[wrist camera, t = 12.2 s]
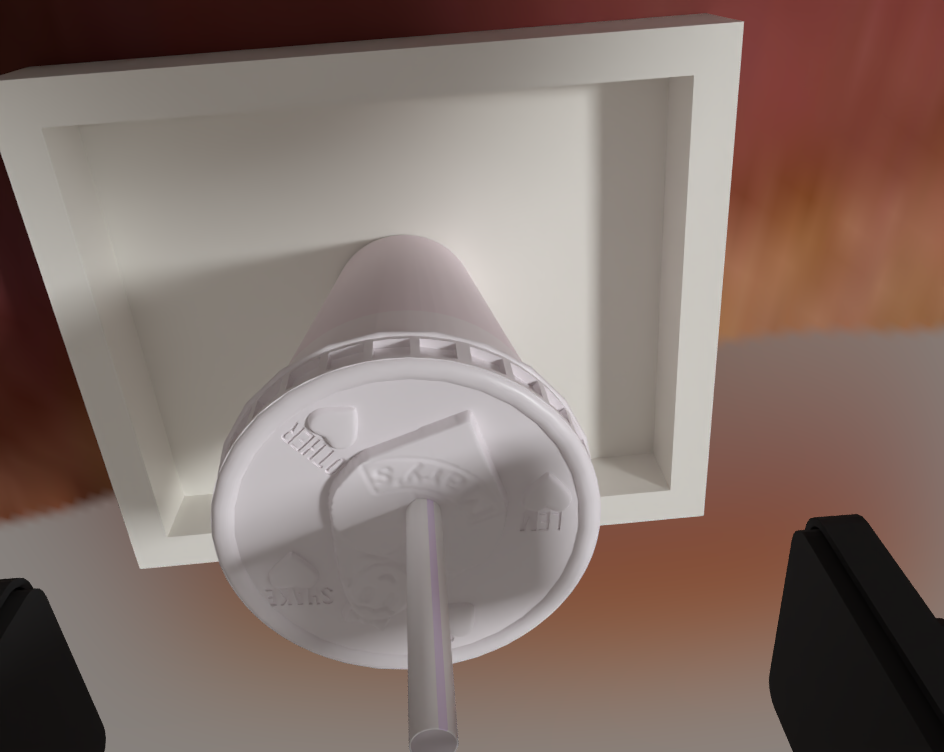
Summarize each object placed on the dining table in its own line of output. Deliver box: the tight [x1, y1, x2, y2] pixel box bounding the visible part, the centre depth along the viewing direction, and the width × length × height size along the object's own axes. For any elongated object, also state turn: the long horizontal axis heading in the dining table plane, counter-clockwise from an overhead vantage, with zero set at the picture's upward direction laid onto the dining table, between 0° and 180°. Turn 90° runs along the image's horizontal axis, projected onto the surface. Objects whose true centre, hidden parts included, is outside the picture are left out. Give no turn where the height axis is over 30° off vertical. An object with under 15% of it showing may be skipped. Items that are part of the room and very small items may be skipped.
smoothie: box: [211, 235, 601, 752], centre depth 15 cm, size 6×6×14 cm
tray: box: [0, 13, 744, 569], centre depth 21 cm, size 16×13×2 cm
